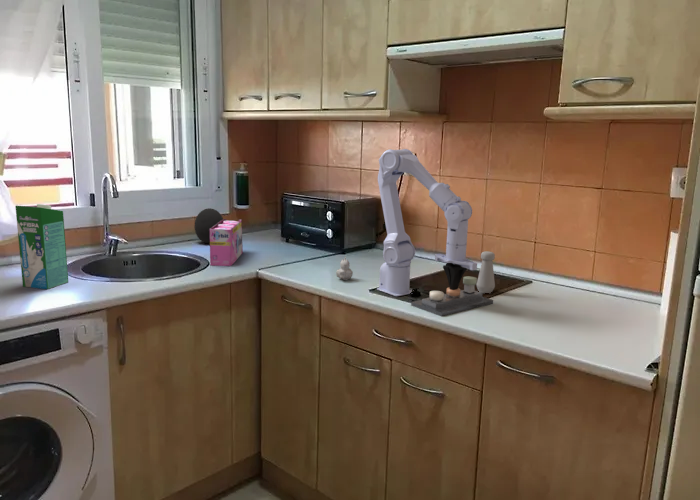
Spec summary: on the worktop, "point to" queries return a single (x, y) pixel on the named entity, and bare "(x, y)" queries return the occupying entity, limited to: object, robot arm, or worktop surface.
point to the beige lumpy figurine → (344, 270)
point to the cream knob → (436, 295)
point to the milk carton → (42, 246)
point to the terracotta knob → (453, 292)
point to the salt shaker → (486, 273)
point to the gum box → (225, 242)
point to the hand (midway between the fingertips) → (453, 289)
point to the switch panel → (453, 303)
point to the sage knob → (469, 284)
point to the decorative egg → (206, 223)
